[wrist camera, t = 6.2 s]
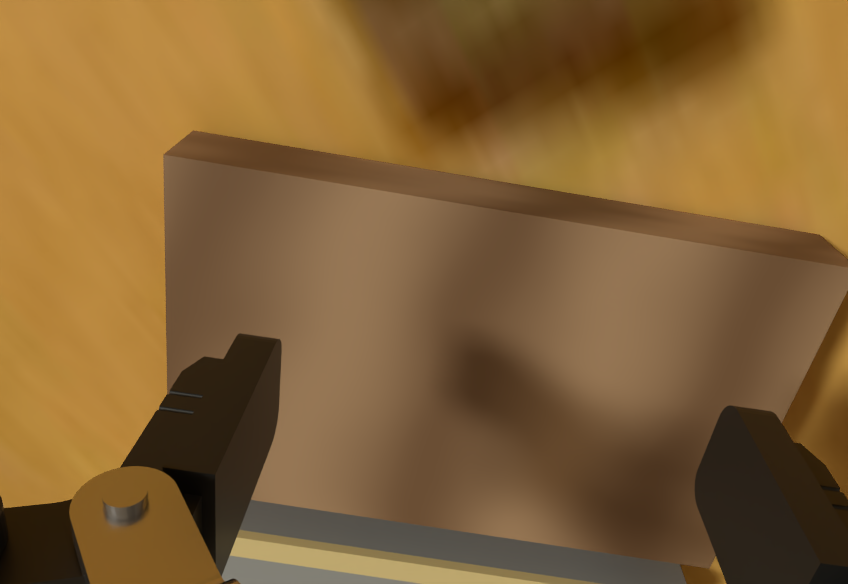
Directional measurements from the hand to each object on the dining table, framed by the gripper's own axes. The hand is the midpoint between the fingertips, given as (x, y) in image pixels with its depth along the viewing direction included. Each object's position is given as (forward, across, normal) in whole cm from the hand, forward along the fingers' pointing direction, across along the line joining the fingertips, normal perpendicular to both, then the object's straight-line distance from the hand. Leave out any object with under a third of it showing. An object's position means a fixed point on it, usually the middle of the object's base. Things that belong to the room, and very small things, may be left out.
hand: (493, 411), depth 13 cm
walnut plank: (+7, 0, +3) cm, 7 cm away
